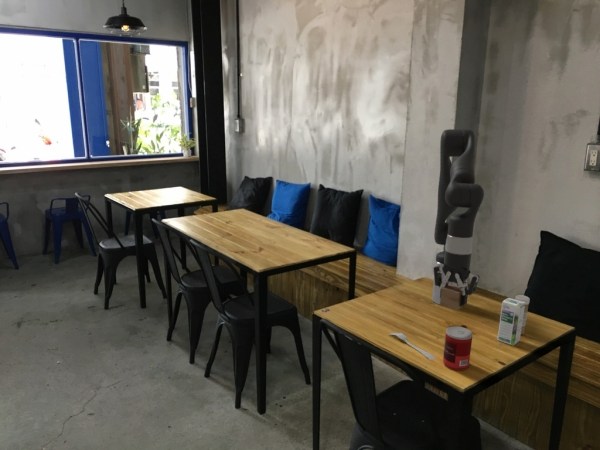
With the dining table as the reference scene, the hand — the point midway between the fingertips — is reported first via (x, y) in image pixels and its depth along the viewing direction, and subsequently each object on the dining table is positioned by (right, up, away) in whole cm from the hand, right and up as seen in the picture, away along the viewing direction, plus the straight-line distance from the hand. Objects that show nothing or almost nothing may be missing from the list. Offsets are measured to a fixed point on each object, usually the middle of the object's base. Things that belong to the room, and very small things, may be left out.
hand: (452, 302), depth 145 cm
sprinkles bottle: (+31, -15, +24) cm, 42 cm away
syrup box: (+25, -16, +18) cm, 35 cm away
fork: (-10, -17, +13) cm, 24 cm away
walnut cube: (0, -1, 0) cm, 1 cm away
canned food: (+1, -20, +2) cm, 20 cm away
